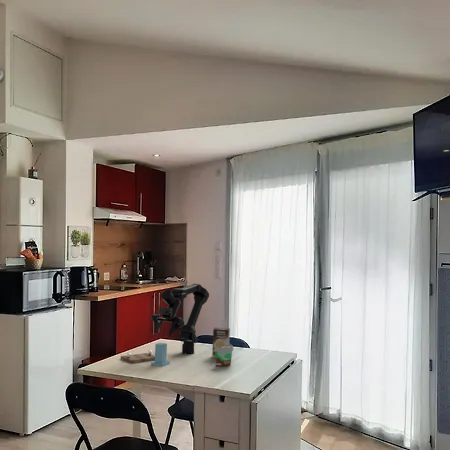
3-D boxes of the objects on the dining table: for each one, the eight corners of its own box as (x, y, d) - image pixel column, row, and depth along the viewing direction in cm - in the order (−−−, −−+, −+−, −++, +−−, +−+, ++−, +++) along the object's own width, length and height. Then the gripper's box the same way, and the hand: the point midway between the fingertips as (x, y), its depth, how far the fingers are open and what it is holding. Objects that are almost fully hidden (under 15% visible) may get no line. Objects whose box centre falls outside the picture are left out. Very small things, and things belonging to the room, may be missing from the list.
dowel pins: (150, 354, 267) (150, 350, 267) (151, 355, 266) (152, 350, 266) (126, 357, 258) (126, 353, 258) (128, 358, 256) (128, 353, 257)
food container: (223, 368, 248) (224, 348, 248) (214, 366, 251) (214, 346, 252) (237, 364, 257) (238, 345, 258) (228, 362, 261) (229, 343, 262)
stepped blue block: (157, 362, 257) (158, 342, 257) (169, 363, 254) (170, 343, 255) (151, 364, 250) (151, 344, 251) (163, 366, 248) (163, 345, 248)
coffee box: (211, 358, 270) (212, 329, 271) (212, 355, 277) (213, 327, 278) (228, 359, 269) (229, 329, 270) (229, 356, 276) (230, 328, 277)
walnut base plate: (146, 355, 271) (146, 352, 271) (158, 359, 262) (158, 357, 262) (120, 359, 261) (120, 356, 261) (131, 363, 252) (131, 360, 252)
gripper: (151, 300, 268) (140, 325, 259) (180, 302, 259) (169, 329, 250) (161, 310, 275) (150, 335, 267) (189, 313, 266) (178, 339, 258)
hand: (161, 334), depth 260 cm, fingers open, 9 cm apart
